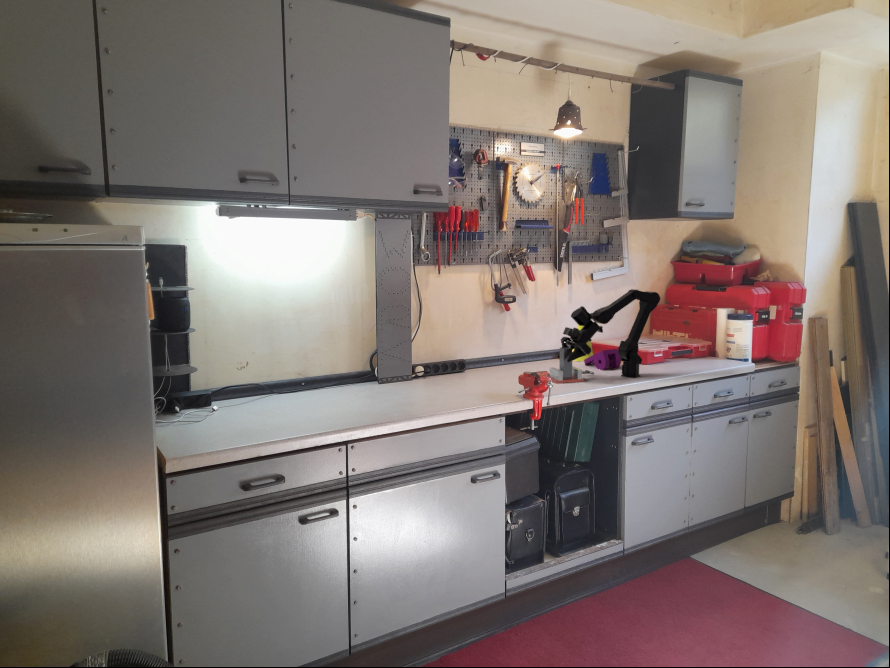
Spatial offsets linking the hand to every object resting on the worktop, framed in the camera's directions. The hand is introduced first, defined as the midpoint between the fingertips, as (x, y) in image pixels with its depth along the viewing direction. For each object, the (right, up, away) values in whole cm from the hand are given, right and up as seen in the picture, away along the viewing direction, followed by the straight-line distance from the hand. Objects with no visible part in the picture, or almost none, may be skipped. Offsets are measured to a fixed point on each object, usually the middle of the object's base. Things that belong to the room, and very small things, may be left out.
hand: (562, 359), depth 252 cm
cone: (+21, -2, +54) cm, 58 cm away
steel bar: (+1, -8, +1) cm, 8 cm away
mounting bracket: (+25, -5, +33) cm, 41 cm away
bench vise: (+4, -9, +2) cm, 10 cm away
